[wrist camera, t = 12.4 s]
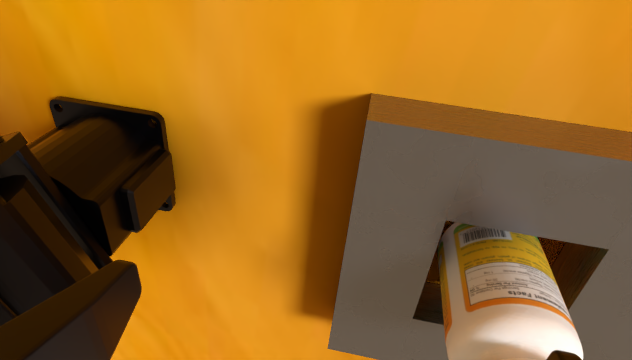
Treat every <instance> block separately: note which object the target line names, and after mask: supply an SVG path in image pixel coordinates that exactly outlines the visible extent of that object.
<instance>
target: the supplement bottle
mask: <svg viewBox="0 0 632 360" xmlns="http://www.w3.org/2000/svg"><path fill="white" fill-rule="evenodd" d="M438 266H439V275H440V285H441V296H442V309H443V319H444V331H445V342H446V348H447V355H448V359H449V360H546V359H547V358H548V356H549V355H550V353H551V352H552V351H554V350H561V351H566V352H570V353H574V354H576V355H578V356H579V357H580V358H581V359H582V360H583V349H582V345H581V342H580V339H579V337H578V334H577V332H576V329H575V327H574V324H573V322H572V319H571V317H570V315H569V312H568V310H567V307H566V305H565V303H564V300H563V298H562V295H561V293H560V290H559V288H558V285H557V283H556V280H555V278H554V276H553V273H552V271H551V268H550V266H549V263H548V261H547V258H546V256H545V253H544V251H543V248H542V246H541V244H540V242H539V239H538V237H536V236H531V235H525V234H519V233H514V232H508V231H502V230H497V229H491V228H486V227H480V226H474V225H469V224H463V223H457V222H455V223H454V224H452V225H451V226H450V227H449V228H448V229H447V230H446V231H445V232H444V234H443V235H442V237H441V239H440V241H439V245H438Z"/></svg>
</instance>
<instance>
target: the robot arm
mask: <svg viewBox="0 0 632 360" xmlns="http://www.w3.org/2000/svg"><path fill="white" fill-rule="evenodd" d="M60 106H61V107H62V108H63V109H62V108H61V107H60ZM50 108H51V112H52V115H53V118H54V122H55V125H56V128H54V129H53V130H51V131H50V132H48V133H46V134H45V135H43V136H42V137H40V138H38V139H37V140H35V141H34V142H32V143H30V144H29V145H26V144H27V143H28V142H27V141H26V140H25V138H24V137H23V136H22V134H21V133H20V132H16V133H12V134H9V135H5V136H0V360H110V359H111V357H112V355H113V353H114V351H115V349H116V347H117V345H118V343H119V340H120V338H121V336H122V334H123V332H124V330H125V328H126V326H127V323H128V321H129V319H130V317H131V315H132V313H133V311H134V308H135V306H136V304H137V302H138V300H139V298H140V295H141V282H140V278H139V274H138V269H137V266H136V264H135V263H133V262H128V261H124V260H116V261H112V259H111V258H110V257H109V256H111V255H113V253H114V252H115V251H116V250H117V249H118V247H119V246H120V245H121V244H122V243H123V242H124V240H125V239H126V238H127V237H128V236H129V235H130V233H131V232H135V233H138V232H139V231H141V230H142V229H143V228H144V226H145V225H146V224H147V223H148V222H149V220H150V219H151V218H152V217H153V215H154V214H155V213H156V212H157V211H158V210H163V211H170V210H172V208H173V207H174V206H175V203H176V202H175V194H174V190H175V180H174V172H173V165H172V157H171V153H170V152H169V150H168V142H167V135H166V127H165V121H164V118H163V117H162V116H161V115H160V114H159V113H156V112H152V111H146V110H139V109H133V108H127V107H121V106H115V105H109V104H103V103H97V102H90V101H84V100H78V99H72V98H66V97H57V98H55V99H53V100H51V101H50ZM152 120H154V121H155V122H156V123H157V125H156V124H154V123H153V122H152ZM165 202H167V203H168V204H167V203H165ZM546 360H582V359H581V358H580V357H579V356H578V355H576V354H574V353H570V352H566V351H561V350H554V351H552V352H551V353H550V355H549V356H548V358H547V359H546Z"/></svg>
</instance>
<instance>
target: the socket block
mask: <svg viewBox="0 0 632 360" xmlns="http://www.w3.org/2000/svg"><path fill="white" fill-rule="evenodd" d="M446 221H452V222H457V223H463V224H469V225H474V226H480V227H486V228H491V229H497V230H502V231H508V232H514V233H519V234H525V235H531V236H536V237H542V238H547V239H553V240H559V241H564V242H566V243H565V245H564V246H563V248H562V250H561V252H560V253H559V255H558V257H557V258H556V260H555V262H554V264H553V265H552V267H551V271H552V273H553V276H554V278H555V280H556V283H557V285H558V288H559V290H560V293H561V295H562V298H563V300H564V303H565V305H566V307H567V310H568V312H569V315H570V317H571V319H572V322H573V324H574V327H575V329H576V332H577V334H578V337H579V339H580V342H581V345H582V349H583V360H632V132H625V131H619V130H612V129H605V128H599V127H592V126H585V125H579V124H572V123H565V122H559V121H552V120H545V119H539V118H532V117H525V116H518V115H512V114H505V113H498V112H492V111H485V110H478V109H472V108H465V107H458V106H452V105H445V104H438V103H432V102H425V101H418V100H411V99H405V98H398V97H391V96H385V95H378V94H371V99H370V105H369V110H368V115H367V121H366V127H365V133H364V139H363V144H362V150H361V156H360V162H359V168H358V174H357V180H356V186H355V191H354V197H353V203H352V209H351V215H350V221H349V227H348V233H347V238H346V244H345V250H344V256H343V262H342V268H341V274H340V280H339V285H338V291H337V297H336V303H335V309H334V315H333V321H332V327H331V332H330V338H329V344H328V349H332V350H337V351H341V352H346V353H351V354H355V355H360V356H364V357H369V358H374V359H378V360H449V359H448V355H447V348H446V342H445V331H444V319H443V309H442V296H441V285H438V284H433V283H428V282H425V281H426V278H427V275H428V272H429V269H430V266H431V263H432V260H433V257H434V254H435V251H436V248H437V245H438V243H439V240H440V237H441V234H442V231H443V228H444V225H445V222H446Z"/></svg>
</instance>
